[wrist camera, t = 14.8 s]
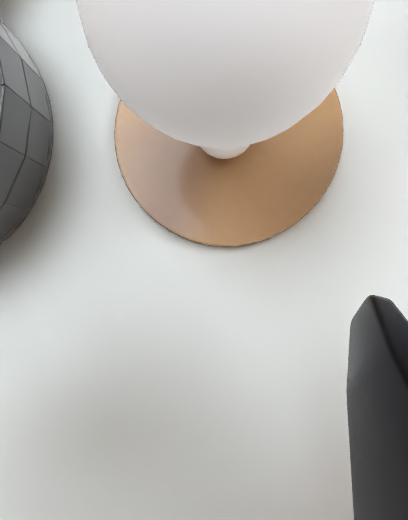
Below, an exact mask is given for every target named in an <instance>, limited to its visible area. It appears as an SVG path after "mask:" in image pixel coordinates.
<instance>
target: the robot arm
mask: <svg viewBox="0 0 408 520" xmlns="http://www.w3.org/2000/svg"><path fill="white" fill-rule="evenodd" d="M347 410H348V426H349V443H350V459H351V476H352V492H353V509H354V520H408V321H407V319H406V318H405V317H404V316H403V314H402V313H401V312H400V311H399V309H398V308H397V307H396V306H395V304H394V303H393V302H392V301H391V300H390V299H387V298H384V297H379V296H375V295H370V296H368V297H367V298H366V299H365V301H364V302H363V304H362V305H361V307H360V308H359V310H358V311H357V313H356V314H355V316H354V317H353V319H352V322H351V326H350V341H349V357H348V373H347Z"/></svg>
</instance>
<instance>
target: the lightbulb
mask: <svg viewBox="0 0 408 520" xmlns="http://www.w3.org/2000/svg"><path fill="white" fill-rule="evenodd" d="M76 2H77V6H78V10H79V13H80V17H81V21H82V25H83V28H84V32H85V35H86V39H87V42H88V46H89V48H90V50H91V52H92V54H93V56H94V58H95V60H96V62H97V64H98V66H99V68H100V71H101V72H102V74H103V75H104V77H105V79H106V80H107V82H108V83H109V85H110V86H111V87H112V89H113V90H114V91H115V93H116V94H117V95H118V96H119V98H120V99H121V100H122V101H123V103H124V104H125V105H126V106H127V107H128V108H129V109H131V110H132V111H133V112H134V113H135V114H136V115H138V116H139V117H140V118H141V119H142V120H144V121H145V122H146V123H148V124H149V125H151V126H152V127H154V128H156V129H157V130H159V131H161V132H163V133H165V134H166V135H168V136H170V137H172V138H174V139H176V140H179V141H183V142H186V143H189V144H192V145H195V146H200V147H201V148H202V150H203V151H205V152H206V153H207V154H209V155H210V156H212V157H215V158H219V159H230V158H233V157H236V156H238V155H240V154H242V153H243V152H244V151H245V150H246V149H247V148H248V147H249V146H250V144H254V143H257V142H261V141H264V140H267V139H269V138H271V137H273V136H275V135H277V134H279V133H281V132H283V131H285V130H287V129H289V128H290V127H292V126H293V125H294V124H296V123H297V122H298V121H300V120H301V119H302V118H304V117H305V116H306V115H307V114H309V113H310V112H311V111H312V110H314V109H315V108H316V107H318V106H319V105H320V104H321V103H322V102H323V100H324V99H325V98H326V97H327V96H328V95H329V93H330V92H331V91H332V90H333V89H334V88H335V86H336V85H337V84H338V83H339V81H340V79H341V78H342V76H343V74H344V73H345V71H346V69H347V68H348V66H349V64H350V62H351V61H352V59H353V57H354V55H355V54H356V52H357V50H358V48H359V47H360V45H361V42H362V39H363V36H364V33H365V30H366V27H367V24H368V21H369V18H370V15H371V11H372V7H373V4H374V0H76Z"/></svg>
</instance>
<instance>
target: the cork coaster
mask: <svg viewBox="0 0 408 520" xmlns="http://www.w3.org/2000/svg"><path fill="white" fill-rule="evenodd" d="M114 133H115V150H116V155H117V161H118V164H119V168H120V171H121V174H122V177H123V179H124V181H125V183H126V185H127V187H128V189H129V191H130V192H131V194H132V196H133V197H134V199H135V200H136V201H137V203H138V204H139V205H140V206H141V207H142V209H143V210H144V211H145V212H146V213H147V214H148V215H149V216H150V217H151V218H153V219H154V220H155V221H156V222H157V223H159V224H160V225H162V226H163V227H164V228H166V229H167V230H169V231H171V232H173V233H174V234H176V235H178V236H180V237H182V238H185V239H188V240H191V241H194V242H197V243H201V244H206V245H212V246H224V247H225V246H241V245H246V244H252V243H256V242H259V241H262V240H265V239H268V238H270V237H273V236H275V235H277V234H279V233H281V232H283V231H284V230H286V229H287V228H289V227H291V226H292V225H294V224H295V223H297V222H298V221H299V220H300V219H301V218H303V217H304V216H305V215H306V214H307V213H308V212H309V211H310V210H311V209H312V208H313V207H314V206H315V205H316V203H317V202H318V201H319V200H320V198H321V197H322V195H323V194H324V193H325V191H326V190H327V188H328V186H329V184H330V182H331V180H332V178H333V176H334V174H335V171H336V168H337V165H338V163H339V159H340V154H341V149H342V142H343V118H342V112H341V107H340V102H339V99H338V96H337V93H336V90H335V88H334V89H333V90H332V91H331V92H330V93H329V95H328V96H327V97H326V98H325V99H324V100H323V102H322V103H321V104H320V105H319V106H318V107H316V108H315V109H314V110H312V111H311V112H310V113H309V114H307V115H306V116H305V117H304V118H302V119H301V120H300V121H298V122H297V123H296V124H294V125H293V126H292V127H290V128H289V129H287V130H285V131H283V132H281V133H279V134H277V135H275V136H273V137H271V138H269V139H267V140H264V141H261V142H257V143H254V144H250V146H249V147H248V148H247V149H246V150H245V151H244V152H243V153H242V154H240V155H238V156H236V157H233V158H230V159H219V158H215V157H212V156H210V155H209V154H207V153H206V152H205V151H203V150H202V148H201V147H200V146H195V145H192V144H189V143H186V142H183V141H179V140H176V139H174V138H172V137H170V136H168V135H166V134H165V133H163V132H161V131H159V130H157V129H156V128H154V127H152V126H151V125H149V124H148V123H146V122H145V121H144V120H142V119H141V118H140V117H139V116H138V115H136V114H135V113H134V112H133V111H132V110H131V109H129V108H128V107H127V106H126V105H125V104H124V103H123V101H122V100H120V102H119V106H118V110H117V115H116V121H115V132H114Z"/></svg>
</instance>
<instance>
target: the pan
mask: <svg viewBox="0 0 408 520" xmlns="http://www.w3.org/2000/svg"><path fill="white" fill-rule="evenodd" d="M52 143H53V121H52V113H51V107H50V101H49V98H48V95H47V91H46V88H45V85H44V82H43V80H42V78H41V76H40V73H39V71H38V69H37V67H36V66H35V64H34V62H33V61H32V59H31V58H30V56H29V55H28V53H27V52H26V50H25V49H24V47H23V45H22V43H21V42H20V41H19V40H18V39H17V38H16V37H15V36H14V34H13V33H12V32H11V31H10V30H9V29H8V28H7V27H6V26H5V25H4V23H3V22H2V21H1V20H0V244H1V243H2V242H3V241H4V240H5V239H6V238H8V237H9V236H10V235H11V234H12V233H13V231H14V230H15V229H16V228H17V227H18V226H19V225H20V224H21V222H22V221H23V220H24V218H25V217H26V215H27V214H28V213H29V211H30V210H31V208H32V207H33V205H34V203H35V201H36V199H37V197H38V195H39V193H40V191H41V189H42V186H43V183H44V181H45V178H46V175H47V172H48V168H49V163H50V159H51V153H52Z"/></svg>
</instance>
